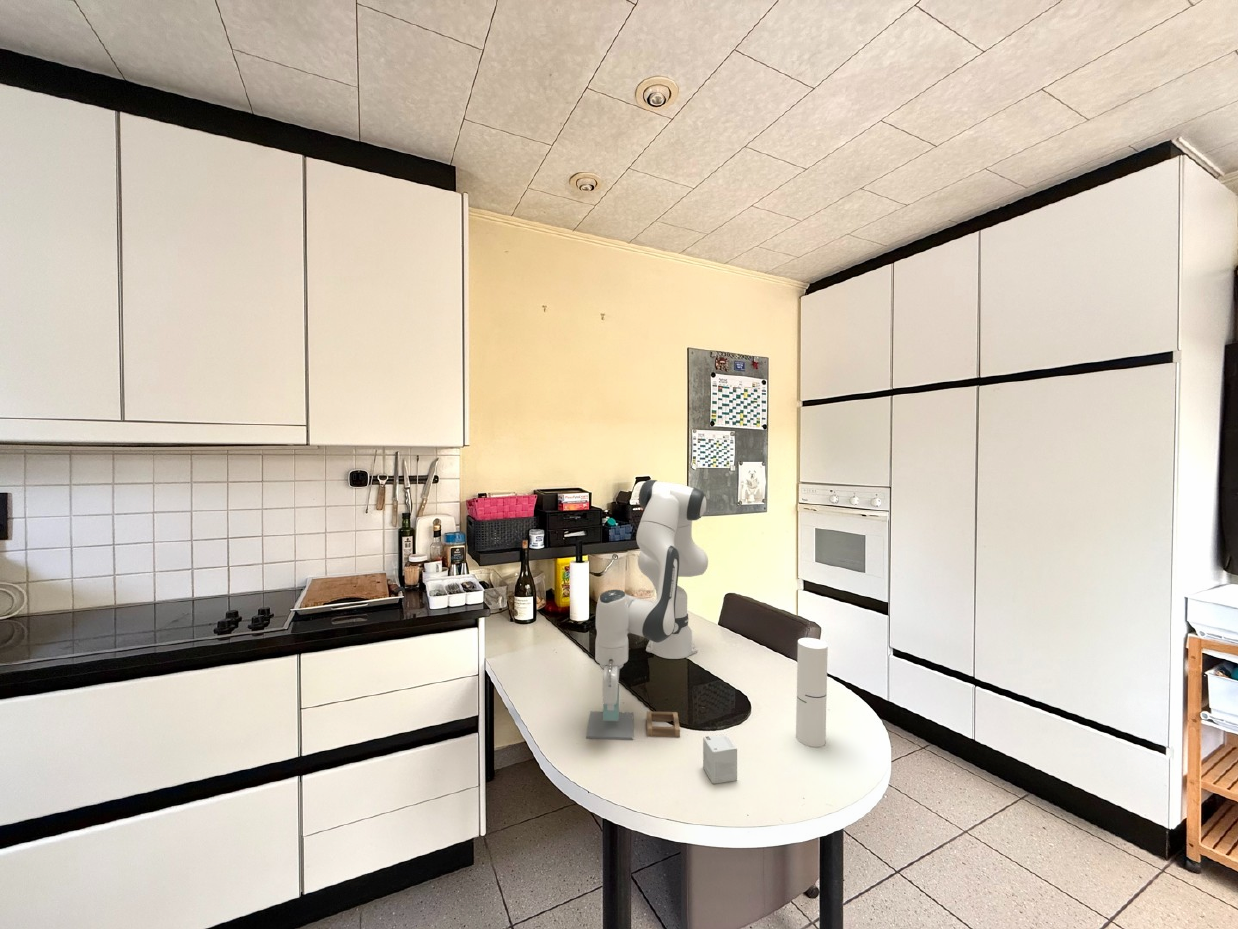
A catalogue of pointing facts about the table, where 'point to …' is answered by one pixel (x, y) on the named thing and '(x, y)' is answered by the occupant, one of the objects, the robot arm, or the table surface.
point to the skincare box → (719, 758)
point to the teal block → (609, 714)
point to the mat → (610, 726)
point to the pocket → (659, 730)
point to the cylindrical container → (811, 692)
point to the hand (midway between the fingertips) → (611, 703)
